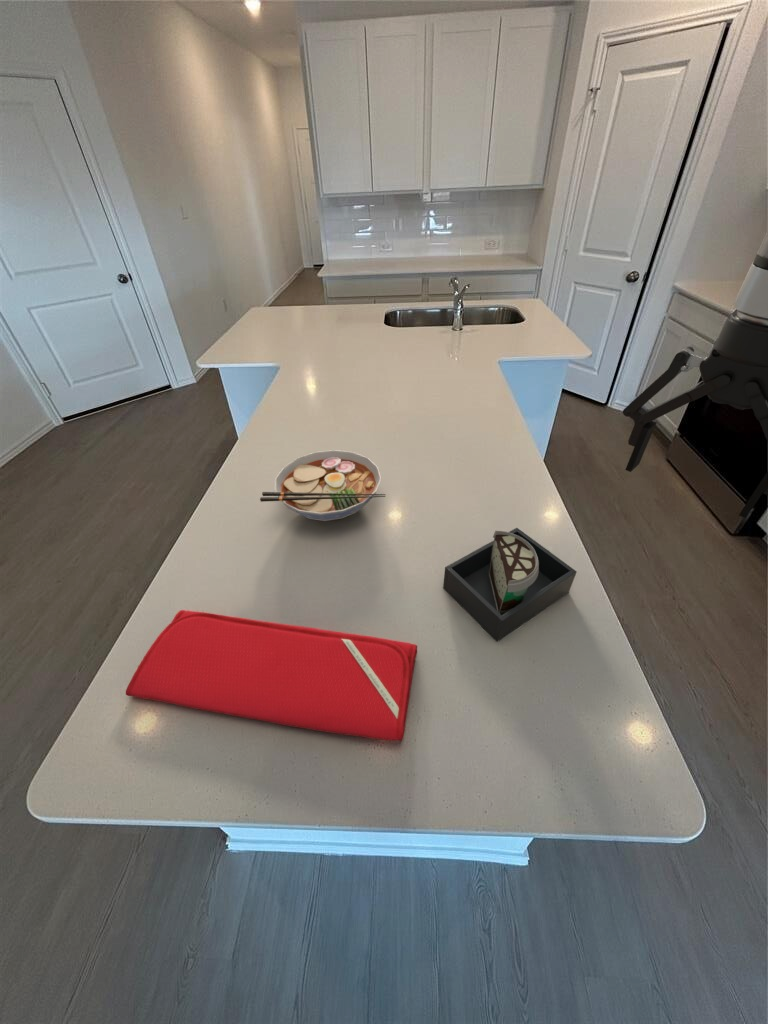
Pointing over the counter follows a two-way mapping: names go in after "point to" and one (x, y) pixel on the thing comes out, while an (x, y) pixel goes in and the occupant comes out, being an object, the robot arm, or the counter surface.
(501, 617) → the bin
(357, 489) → the ramen bowl
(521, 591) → the halved ice cream tub
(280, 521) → the counter surface
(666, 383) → the robot arm
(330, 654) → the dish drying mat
